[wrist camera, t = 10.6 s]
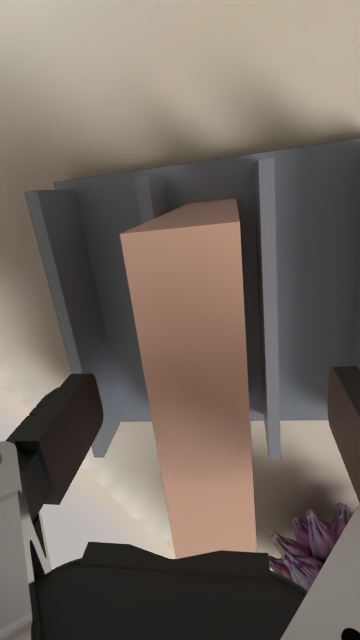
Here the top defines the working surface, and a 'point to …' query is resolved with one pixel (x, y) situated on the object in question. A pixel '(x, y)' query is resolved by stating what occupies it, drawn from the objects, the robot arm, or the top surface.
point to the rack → (257, 267)
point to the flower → (308, 546)
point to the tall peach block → (196, 370)
